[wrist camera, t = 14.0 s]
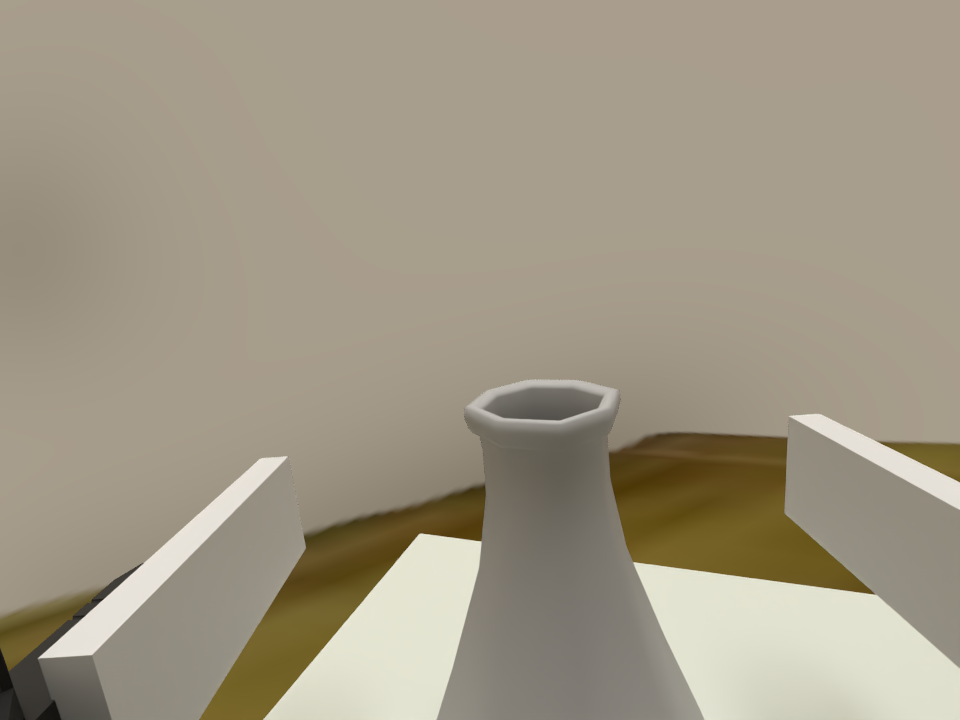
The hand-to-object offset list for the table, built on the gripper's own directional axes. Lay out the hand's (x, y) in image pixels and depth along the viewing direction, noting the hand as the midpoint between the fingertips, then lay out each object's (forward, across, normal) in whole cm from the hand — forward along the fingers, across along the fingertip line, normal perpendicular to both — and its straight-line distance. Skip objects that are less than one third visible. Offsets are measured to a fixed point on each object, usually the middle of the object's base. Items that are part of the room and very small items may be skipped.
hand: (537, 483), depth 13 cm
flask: (-2, 0, -7) cm, 8 cm away
